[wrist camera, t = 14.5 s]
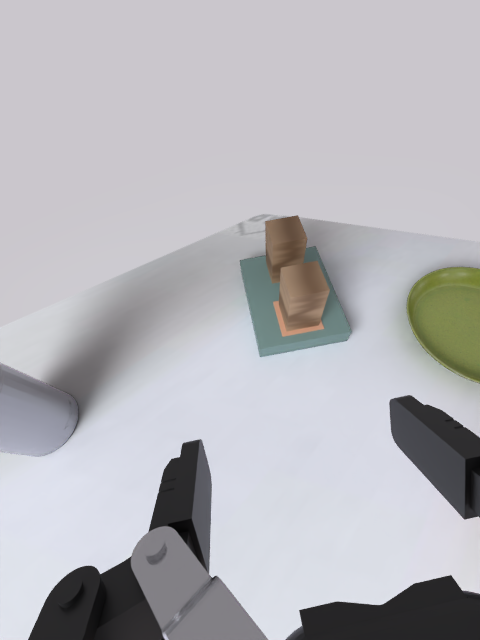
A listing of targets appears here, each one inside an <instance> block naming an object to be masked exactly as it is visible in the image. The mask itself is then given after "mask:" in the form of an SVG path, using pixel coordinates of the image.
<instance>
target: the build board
mask: <svg viewBox="0 0 480 640" xmlns="http://www.w3.org/2000/svg"><path fill="white" fill-rule="evenodd" d="M313 261H318V263H319V266H320V268H321V270H322V273H323V275H324V277H325V280H326V282H327V285H328V287H329V289H330V291H329V294H328V298H327V301H326V304H325V307H324V310H323V314H322V317H321V320H320V323H319V325H318V326H313V327H308V328H303V329H297V330H292V331H286V328H285V325H284V321H283V318H282V314H281V311H280V308H279V290H280V282H278V283H273V284H272V281H271V278H270V274H269V271H268V267H267V264H266V256H260V257H255V258H250V259H244V260H240V266H241V273H242V277H243V282H244V286H245V291H246V295H247V300H248V304H249V309H250V314H251V318H252V323H253V327H254V332H255V336H256V341H257V345H258V350H259V354H260V357H264V356H269V355H274V354H279V353H285V352H290V351H295V350H300V349H306V348H311V347H316V346H322V345H327V344H332V343H337V342H343V341H347V340H348V338H349V336H350V334H351V332H352V331H351V329H350V327H349V324H348V322H347V320H346V317H345V315H344V312H343V310H342V308H341V305H340V303H339V301H338V298H337V296H336V294H335V291H334V289H333V287H332V284H331V282H330V279H329V277H328V275H327V272H326V270H325V268H324V265H323V263H322V261H321V258H320V256H319V253H318V251H317V249H316V246H314V247H309V248H306V249H305V256H304V262H303V263H308V262H313Z"/></svg>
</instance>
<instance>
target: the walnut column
mask: <svg viewBox="0 0 480 640" xmlns="http://www.w3.org/2000/svg"><path fill="white" fill-rule="evenodd" d="M265 226H266V264H267V267H268V271H269V274H270V278H271V281H272V284H273V283H278V282H280V272H281V268H282V267H287V266H292V265H297V264H302V263H303V262H304V256H305V249H306V243H307V237H306V234H305V232H304V229H303V227H302V224H301V222H300V219H299V217H298V216H292V217H287V218H281V219H276V220H270V221H265Z"/></svg>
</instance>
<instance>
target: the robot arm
mask: <svg viewBox="0 0 480 640" xmlns="http://www.w3.org/2000/svg"><path fill="white" fill-rule="evenodd" d="M77 420H78V405H77V403H76V401H75V399H74V398H73V397H72V396H71V395H69V394H67V393H65V392H63V391H61V390H59V389H57V388H54V387H52V386H50V385H48V384H46V383H44V382H42V381H39V380H37V379H35V378H33V377H31V376H29V375H26V374H24V373H22V372H20V371H18V370H15V369H13V368H11V367H9V366H7V365H5V364H2V363H0V452H4V453H11V454H19V455H27V456H44V455H47V454H49V453H52V452H53V451H55V450H57V449H58V448H59V447H61V446H62V445H63V444H64V443H65V442H66V441H67V440H68V438H69V437H70V436H71V434H72V433H73V431H74V429H75V426H76V424H77ZM390 420H391V432H392V436H393V439H394V441H395V443H396V444H397V446H398V447H399V448H400V449H401V450H402V451H403V452H404V454H405V455H406V456H407V457H408V458H409V459H410V460H411V461H412V462H413V463H414V465H415V466H416V467H417V468H418V469H419V470H420V471H421V472H422V473H423V474H424V476H425V477H426V478H427V479H428V480H429V481H430V482H431V483H432V484H433V485H434V487H435V488H436V489H437V490H438V491H439V492H440V493H441V494H442V495H443V496H444V497H445V499H446V500H447V501H448V502H449V503H450V504H451V505H452V506H453V507H454V508H455V510H456V511H457V512H458V513H459V514H460V515H461V516H462V517H463V518H464V519H469V518H473V517H478V516H479V517H480V438H479V437H478V436H477V435H475V434H474V433H473V432H471V431H470V430H468V429H467V428H466V427H465V428H464V427H463V425H461V424H460V423H459V422H457V421H456V420H455V421H454V419H453V418H452V417H450V416H449V415H448V414H446V413H445V412H443V411H442V410H440V409H437V408H435V407H432V406H430V405H423V404H422V403H420V402H419V401H418V400H416V399H415V398H414V397H412V396H410V395H408V396H403V397H398V398H394V399H391V400H390ZM211 492H212V483H211V474H210V469H209V465H208V461H207V458H206V454H205V450H204V446H203V443H202V440H201V439H200V440H195V441H190V442H186V443H183V444H182V449H181V455H180V457H179V458H174V459H171V461H170V462H169V463H168V465H167V466H166V468H165V469H164V472H163V476H162V480H161V484H160V488H159V493H158V496H157V500H156V504H155V508H154V512H153V516H152V520H151V524H150V528H149V532H148V533H147V534H146V535H145V536H143V537H142V538H141V540H140V541H139V542H138V543H137V545H136V547H135V548H134V550H133V553H132V556H131V557H130V558H128V559H127V560H125V561H124V562H122V563H120V564H119V565H117V566H115V567H113V568H111V569H110V570H108V571H106V572H104V573H102V574H100V573H99V571H98V570H97V568H95V567H93V566H83V567H80V568H78V569H76V570H74V571H72V572H71V573H69V574H68V575H66V576H65V577H64V578H63V579H62V580H61V581H60V582H59V583H58V584H57V585H56V586H55V587H54V588H53V590H52V591H51V593H50V594H49V596H48V597H47V599H46V601H45V603H44V605H43V608H42V610H41V612H40V614H39V617H38V619H37V621H36V623H35V625H34V628H33V630H32V632H31V634H30V637H29V639H28V640H268V639H267V638H266V636H265V635H264V634H263V632H262V631H261V630H260V629H259V627H258V626H257V625H256V624H255V622H254V621H253V620H252V618H251V617H250V616H249V615H248V613H247V612H246V611H245V609H244V608H243V607H242V606H241V604H240V603H239V602H238V601H237V599H236V598H235V597H234V595H233V594H232V593H231V592H230V590H229V589H228V588H227V587H226V585H225V584H224V583H223V582H222V580H221V579H220V578H219V577H217V576H214V577H213V578H212V577H211V576H210V575H209V558H210V525H211ZM299 611H300V616H301V622H302V626H301V627H300V628H298V629H297V630H295V631H294V632H293V633H292V634H291V635H290V636H289V637H287V639H286V640H480V594H478V593H473V592H468V591H462V590H461V588H460V587H459V586H458V584H457V583H456V581H455V580H454V579H453V577H452V576H451V575H450V576H446V577H441V578H437V579H433V580H428V581H424V582H420V583H415V584H413V585H412V586H410V587H409V588H407V589H406V590H404V591H403V592H401V593H400V594H398V595H397V596H395V597H394V598H392V599H391V600H389V601H388V602H386V603H385V604H383V605H369V604H358V603H347V602H333V603H328V604H324V605H320V606H315V607H311V608H307V609H302V610H299Z"/></svg>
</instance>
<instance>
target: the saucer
mask: <svg viewBox="0 0 480 640" xmlns="http://www.w3.org/2000/svg"><path fill="white" fill-rule="evenodd" d="M407 315H408V320H409V323H410V326H411V329H412V331H413V333H414V335H415V337H416V338H417V340H418V341H419V343H420V344H421V345H422V347H423V348H424V349H425V350H426V351H427V352H428V353H429V354H430V355H431V356H432V357H433V358H434V359H435V360H436V361H438V362H439V363H440V364H441V365H443V366H444V367H446V368H447V369H449V370H450V371H452V372H454V373H456V374H458V375H460V376H462V377H464V378H466V379H469V380H471V381H474V382H477V383H480V269H478V268H470V267H450V268H444V269H439V270H436V271H433V272H431V273H429V274H427V275H425V276H423V277H422V278H421V279H419V280H418V281H417V282H416V283H415V284H414V286H413V287H412V289H411V291H410V293H409V295H408V299H407Z"/></svg>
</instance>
